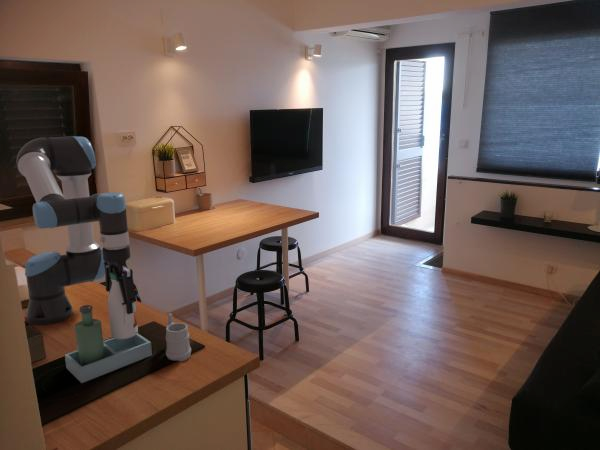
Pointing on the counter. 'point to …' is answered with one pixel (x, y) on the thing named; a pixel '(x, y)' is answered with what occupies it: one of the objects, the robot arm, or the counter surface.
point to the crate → (110, 357)
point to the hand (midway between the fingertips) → (123, 318)
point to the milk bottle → (119, 313)
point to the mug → (177, 340)
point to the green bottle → (89, 337)
